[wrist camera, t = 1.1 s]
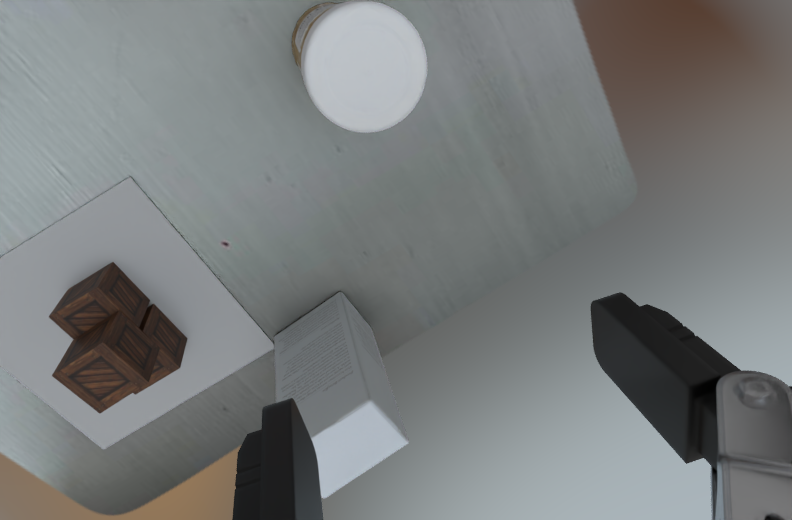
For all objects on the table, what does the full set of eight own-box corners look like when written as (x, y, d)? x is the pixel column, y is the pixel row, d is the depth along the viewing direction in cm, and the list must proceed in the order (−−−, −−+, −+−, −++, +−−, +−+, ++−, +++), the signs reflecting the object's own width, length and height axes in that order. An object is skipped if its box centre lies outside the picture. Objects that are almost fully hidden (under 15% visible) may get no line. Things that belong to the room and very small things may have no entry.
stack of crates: (-77, 304, 33) (-156, 374, 26) (130, 176, 32) (97, 217, 26) (103, 449, 40) (73, 530, 34) (276, 346, 39) (276, 410, 33)
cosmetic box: (308, 371, 40) (321, 503, 30) (272, 334, 38) (272, 461, 28) (375, 327, 40) (412, 445, 29) (342, 287, 38) (369, 398, 27)
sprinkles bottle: (305, 95, 32) (325, 150, 20) (280, 12, 30) (285, 20, 18) (379, 74, 32) (441, 116, 20) (359, -9, 30) (415, -16, 18)
